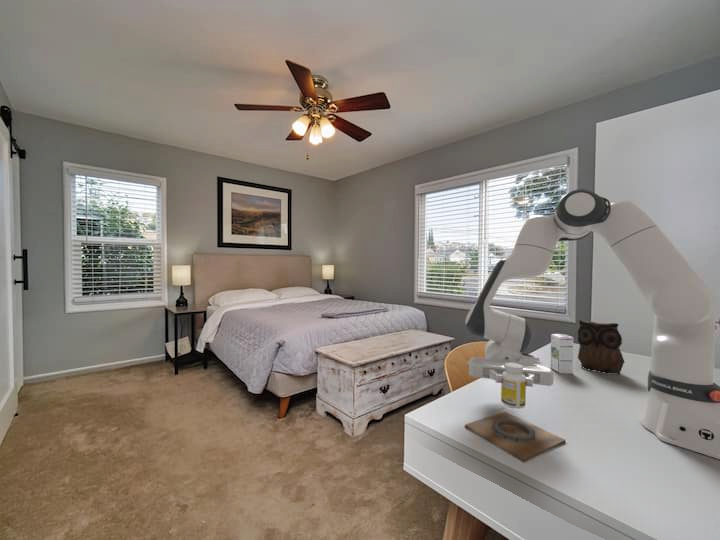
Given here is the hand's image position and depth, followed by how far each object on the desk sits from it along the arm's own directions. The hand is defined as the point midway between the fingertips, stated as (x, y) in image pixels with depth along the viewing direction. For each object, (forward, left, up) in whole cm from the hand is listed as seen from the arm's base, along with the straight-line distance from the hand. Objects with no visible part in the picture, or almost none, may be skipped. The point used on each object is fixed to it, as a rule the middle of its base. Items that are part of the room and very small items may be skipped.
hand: (514, 381), depth 75 cm
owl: (+15, -80, -14) cm, 82 cm away
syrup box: (+21, -62, -14) cm, 67 cm away
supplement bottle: (+1, -1, -6) cm, 6 cm away
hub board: (0, -1, -13) cm, 13 cm away
